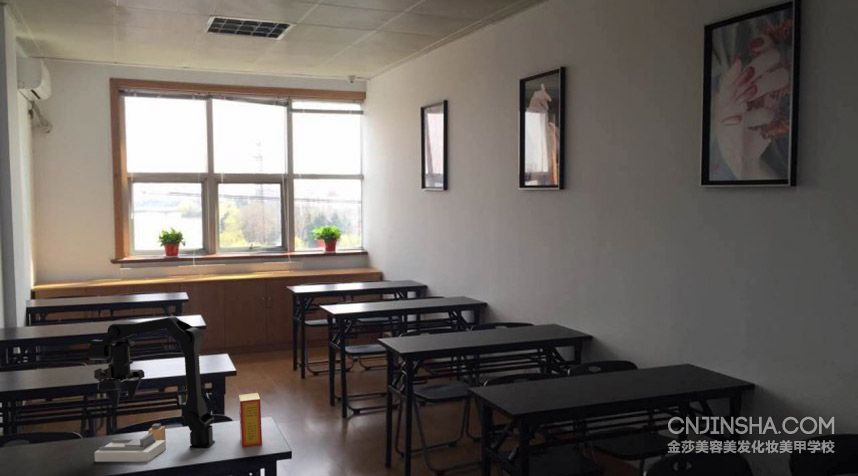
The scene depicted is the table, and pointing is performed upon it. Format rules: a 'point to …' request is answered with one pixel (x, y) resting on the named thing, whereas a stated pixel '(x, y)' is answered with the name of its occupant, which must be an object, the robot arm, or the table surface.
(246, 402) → the baking soda box
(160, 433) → the plug
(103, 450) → the board
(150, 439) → the shutter
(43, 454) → the table surface
